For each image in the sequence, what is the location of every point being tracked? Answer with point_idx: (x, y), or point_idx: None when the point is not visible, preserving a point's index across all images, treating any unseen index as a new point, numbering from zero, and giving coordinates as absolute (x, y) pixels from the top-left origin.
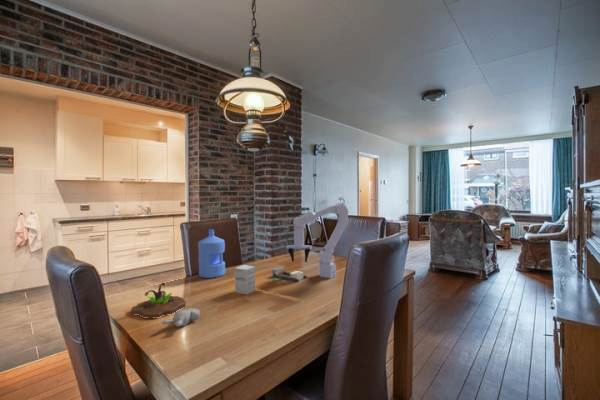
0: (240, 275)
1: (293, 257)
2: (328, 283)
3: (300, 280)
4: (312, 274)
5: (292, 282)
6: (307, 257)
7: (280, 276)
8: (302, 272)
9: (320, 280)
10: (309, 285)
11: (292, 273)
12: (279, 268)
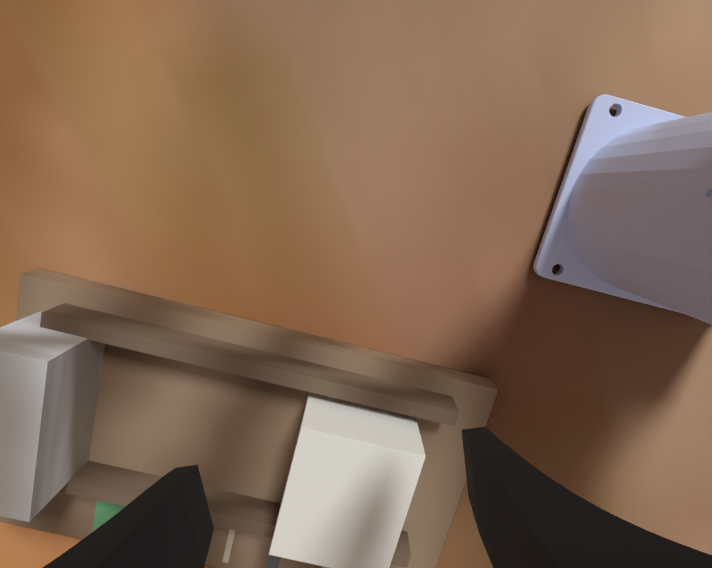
0: None
1: (165, 556)
2: (704, 406)
3: None
4: (439, 125)
5: None
6: (531, 473)
7: None
8: (418, 474)
9: (599, 336)
10: None
11: (305, 552)
12: (13, 428)
